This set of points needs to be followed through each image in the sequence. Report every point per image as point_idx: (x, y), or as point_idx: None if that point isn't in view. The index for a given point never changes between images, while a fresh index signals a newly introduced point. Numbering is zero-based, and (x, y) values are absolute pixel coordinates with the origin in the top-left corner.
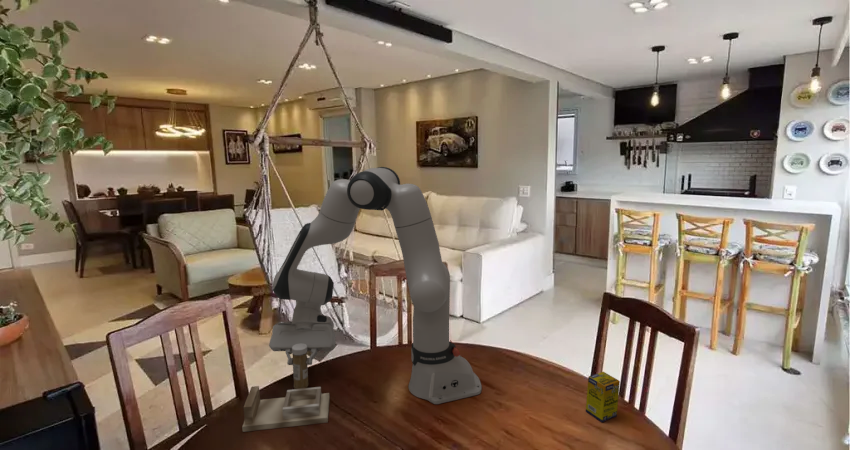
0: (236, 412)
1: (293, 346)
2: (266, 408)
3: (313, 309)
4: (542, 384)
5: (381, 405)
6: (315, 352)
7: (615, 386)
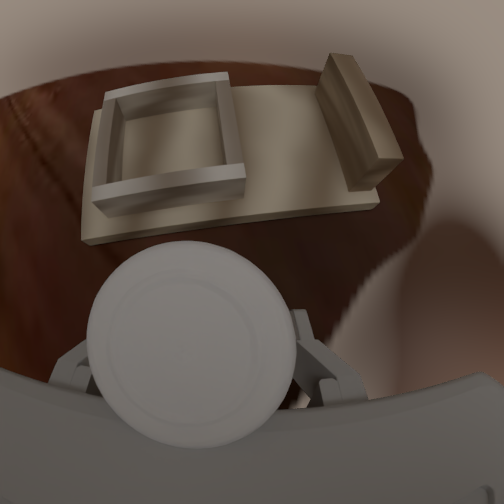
0: (396, 178)
1: (275, 347)
2: (307, 150)
3: None
4: None
5: None
6: (62, 363)
7: None
